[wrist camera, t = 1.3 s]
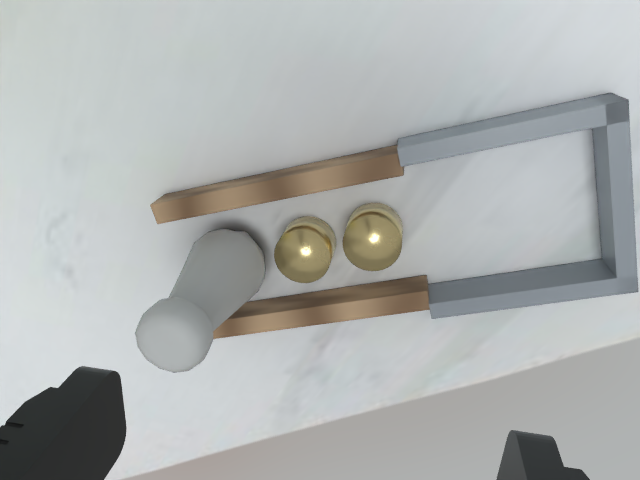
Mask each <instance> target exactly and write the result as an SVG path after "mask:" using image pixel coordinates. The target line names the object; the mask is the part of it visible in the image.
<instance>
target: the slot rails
mask: <svg viewBox="0 0 640 480" xmlns="http://www.w3.org/2000/svg"><path fill="white" fill-rule="evenodd" d="M397 146H398V145H394V146H390V147H385V148H380V149H376V150H371V151H366V152H361V153H357V154H352V155H347V156H343V157H338V158H333V159H329V160H324V161H319V162H314V163H310V164H305V165H300V166H296V167H291V168H286V169H282V170H277V171H272V172H267V173H263V174H258V175H253V176H249V177H244V178H239V179H235V180H230V181H225V182H220V183H216V184H211V185H206V186H202V187H197V188H192V189H187V190H183V191H178V192H173V193H169V194H165V195H163V196H162V197H161V198H159V199H158V200H156V201H155V202H154V203H152V204H151V205H150V206H151V208H152V211H153V214H154V216H155V219H156V222H157V224H161V223H166V222H171V221H176V220H181V219H186V218H191V217H196V216H201V215H206V214H211V213H216V212H221V211H226V210H231V209H236V208H241V207H246V206H251V205H257V204H262V203H267V202H272V201H277V200H282V199H287V198H292V197H297V196H302V195H307V194H312V193H317V192H322V191H327V190H332V189H337V188H342V187H347V186H352V185H357V184H362V183H368V182H373V181H378V180H383V179H388V178H393V177H398V176H403V175H404V166H403V167H401V165H400V160H399V155H398V150H397ZM422 310H430V308H429V291H428V281H427V276H426V275H423V276H416V277H410V278H403V279H397V280H390V281H383V282H377V283H370V284H363V285H357V286H350V287H344V288H337V289H330V290H324V291H317V292H311V293H304V294H297V295H291V296H284V297H278V298H271V299H264V300H258V301H251V302H246V303H244V304H243V305H242V306H241V307H240V308H239V309H238V310H237V311H236V312H234V313H233V314H232V315H231V316H230V317H229V318H228V319H227V320H225V321H224V322H223V323H222V324H221V325H220V326H219V327H218V328H216V329H215V330H214V331H213V339H216V338H223V337H230V336H238V335H245V334H253V333H260V332H267V331H275V330H282V329H290V328H297V327H304V326H312V325H319V324H326V323H334V322H341V321H349V320H356V319H363V318H371V317H378V316H385V315H393V314H400V313H408V312H415V311H422Z"/></svg>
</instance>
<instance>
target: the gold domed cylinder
mask: <svg viewBox="0 0 640 480" xmlns="http://www.w3.org/2000/svg"><path fill="white" fill-rule="evenodd" d="M402 233H403V226H402V221H401V219H400V217H399V215H398V214H397V213H396V212H395V211H394V210H393V209H392V208H391V207H389V206H387V205H385V204H381V203H368V204H365V205H362V206H360V207H359V208H357V209H356V210H355V211H354V212H353V213H352V215H351V216H350V219H349V221H348V224H347V227H346V230H345V234H344V237H343V249H344V252H345V255H346V256H347V258H348V259H349V261H350V262H351V263H352V264H354V265H355V266H357V267H358V268H361V269H363V270H367V271H379V270H383V269H386V268H388V267H389V266H391V265H392V264H393V263H394V262H395V261H396V260H397V259H398V257H399V255H400V252H401V248H402Z"/></svg>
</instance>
